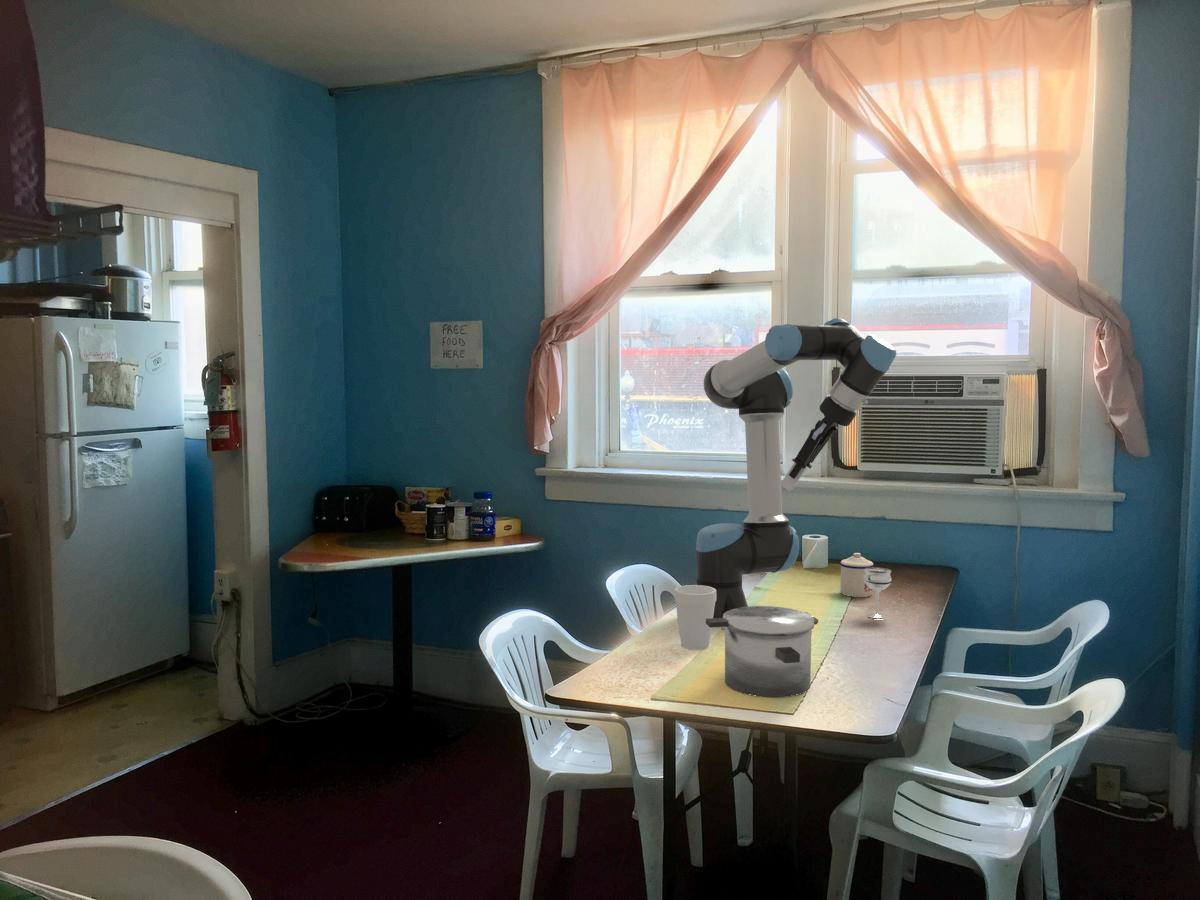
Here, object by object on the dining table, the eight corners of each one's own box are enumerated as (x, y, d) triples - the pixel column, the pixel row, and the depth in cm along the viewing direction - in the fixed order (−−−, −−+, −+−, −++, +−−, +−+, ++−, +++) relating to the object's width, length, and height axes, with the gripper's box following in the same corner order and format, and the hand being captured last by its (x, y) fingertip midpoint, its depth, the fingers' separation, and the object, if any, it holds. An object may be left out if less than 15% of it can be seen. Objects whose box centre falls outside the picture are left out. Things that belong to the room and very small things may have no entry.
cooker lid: (796, 609, 196) (796, 604, 196) (832, 633, 178) (832, 627, 178) (695, 614, 192) (695, 609, 192) (721, 639, 175) (721, 633, 175)
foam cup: (682, 653, 206) (683, 595, 205) (668, 641, 215) (668, 586, 214) (722, 649, 209) (722, 593, 208) (706, 638, 218) (707, 584, 217)
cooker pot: (783, 660, 201) (784, 606, 200) (834, 702, 175) (835, 640, 174) (707, 664, 198) (708, 609, 197) (748, 708, 172) (748, 645, 171)
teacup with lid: (871, 599, 255) (872, 557, 254) (837, 596, 258) (838, 555, 257) (875, 589, 266) (876, 549, 265) (843, 587, 269) (843, 547, 268)
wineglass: (869, 611, 241) (870, 566, 240) (894, 616, 237) (895, 570, 236) (858, 617, 236) (859, 570, 235) (884, 621, 232) (885, 574, 231)
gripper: (849, 416, 194) (789, 503, 204) (865, 408, 205) (808, 491, 215) (819, 395, 196) (762, 482, 206) (837, 389, 207) (782, 472, 217)
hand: (785, 487), depth 210 cm, fingers closed
